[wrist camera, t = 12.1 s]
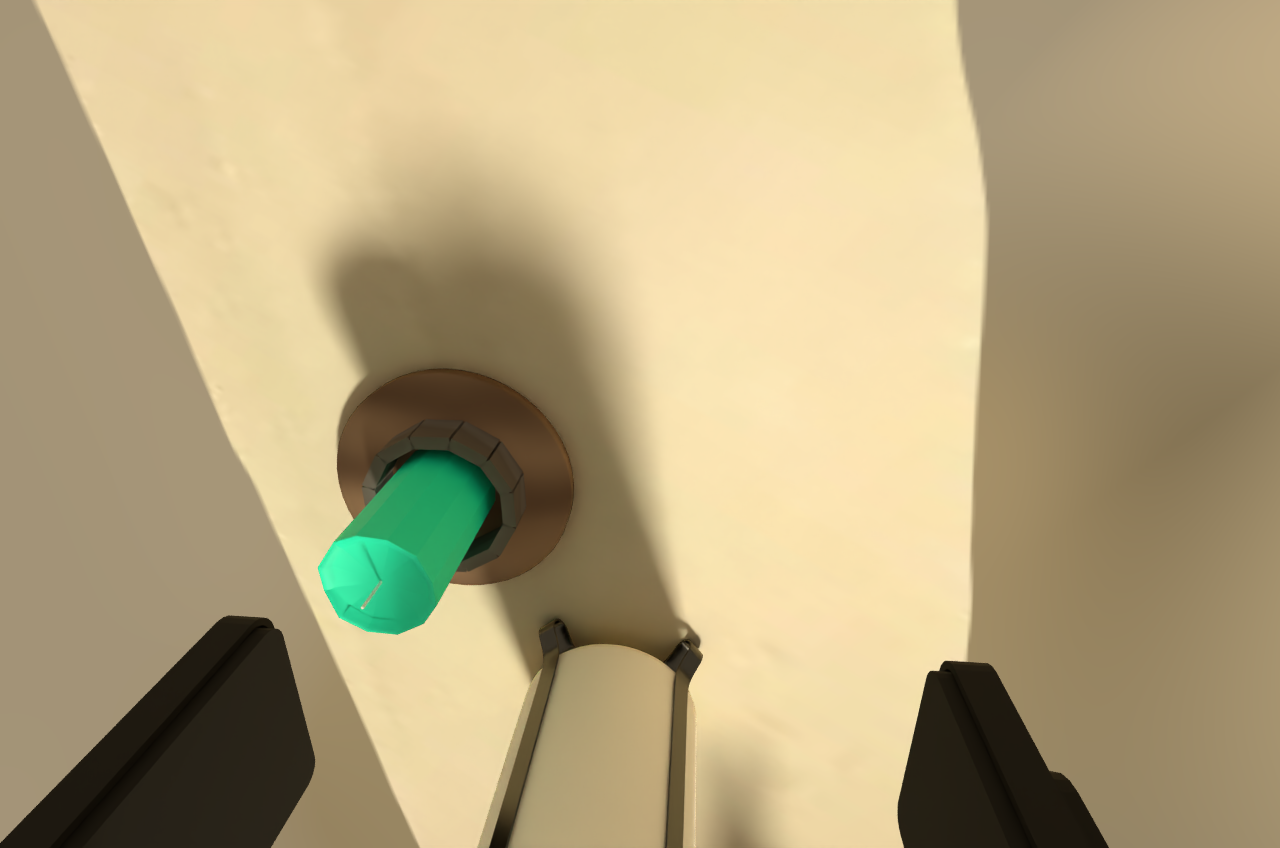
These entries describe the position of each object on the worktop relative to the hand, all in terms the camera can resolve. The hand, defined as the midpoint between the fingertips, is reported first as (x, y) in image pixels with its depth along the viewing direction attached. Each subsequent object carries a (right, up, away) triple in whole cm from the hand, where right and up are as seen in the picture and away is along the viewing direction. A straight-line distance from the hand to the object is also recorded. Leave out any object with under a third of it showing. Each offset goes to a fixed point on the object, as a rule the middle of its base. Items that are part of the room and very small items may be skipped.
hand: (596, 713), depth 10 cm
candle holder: (-11, +1, +34) cm, 36 cm away
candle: (-11, 0, +33) cm, 35 cm away
